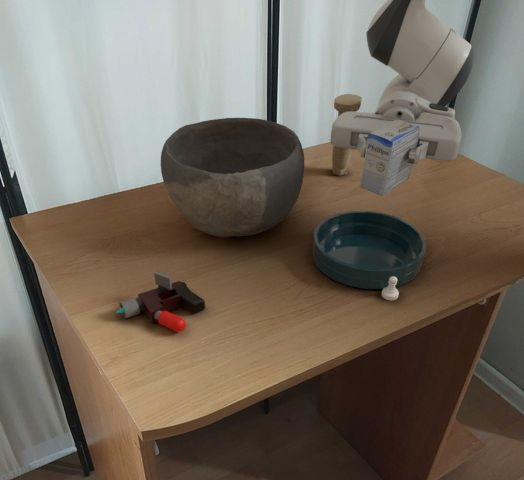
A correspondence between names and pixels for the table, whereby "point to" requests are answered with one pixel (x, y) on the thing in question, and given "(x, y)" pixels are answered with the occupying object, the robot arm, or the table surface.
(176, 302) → the toy gun
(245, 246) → the table surface
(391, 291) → the chess pawn
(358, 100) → the handle
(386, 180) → the medicine box
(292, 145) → the bowl
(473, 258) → the table surface
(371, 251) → the teal bowl
